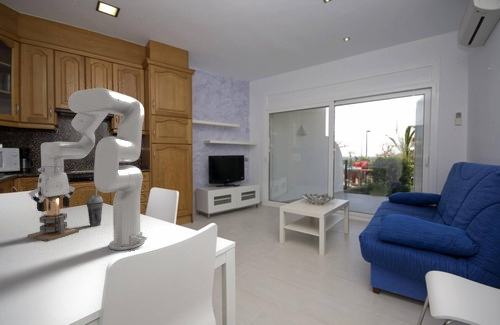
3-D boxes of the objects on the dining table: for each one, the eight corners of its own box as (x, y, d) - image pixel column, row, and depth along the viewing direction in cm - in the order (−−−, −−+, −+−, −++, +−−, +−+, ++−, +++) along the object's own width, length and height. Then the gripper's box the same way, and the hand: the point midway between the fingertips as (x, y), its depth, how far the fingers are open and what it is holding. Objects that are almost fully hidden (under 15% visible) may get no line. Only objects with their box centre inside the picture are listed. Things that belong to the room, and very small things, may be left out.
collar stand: (78, 232, 105) (78, 213, 105) (48, 241, 94) (48, 220, 94) (58, 228, 110) (58, 211, 110) (27, 236, 99) (27, 217, 99)
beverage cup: (83, 226, 114) (82, 186, 114) (98, 222, 121) (98, 184, 120) (91, 228, 111) (90, 187, 110) (106, 224, 117) (106, 185, 117)
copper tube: (63, 231, 103) (62, 191, 103) (51, 234, 99) (50, 193, 99) (56, 230, 105) (55, 191, 105) (44, 233, 101) (43, 192, 100)
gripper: (34, 171, 92) (35, 214, 92) (79, 169, 108) (79, 205, 109) (23, 171, 94) (24, 212, 95) (68, 169, 111) (69, 204, 111)
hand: (54, 208), depth 102 cm, fingers open, 9 cm apart
